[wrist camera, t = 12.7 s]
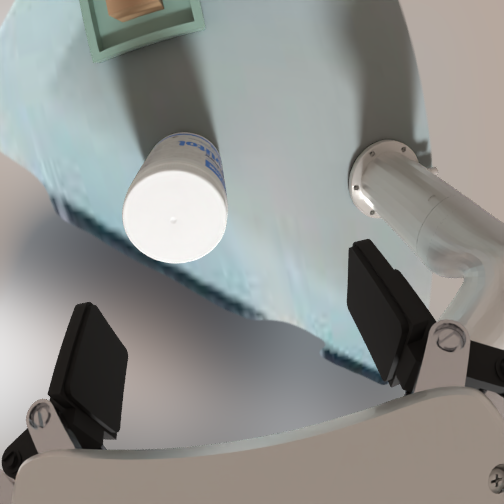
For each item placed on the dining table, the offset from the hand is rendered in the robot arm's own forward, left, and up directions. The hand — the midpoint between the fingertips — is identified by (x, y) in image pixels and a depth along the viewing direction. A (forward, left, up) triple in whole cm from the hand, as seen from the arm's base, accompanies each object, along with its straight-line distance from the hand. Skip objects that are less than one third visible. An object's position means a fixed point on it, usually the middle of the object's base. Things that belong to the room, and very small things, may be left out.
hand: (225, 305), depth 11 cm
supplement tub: (+4, +4, -30) cm, 31 cm away
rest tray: (+4, -19, -30) cm, 36 cm away
